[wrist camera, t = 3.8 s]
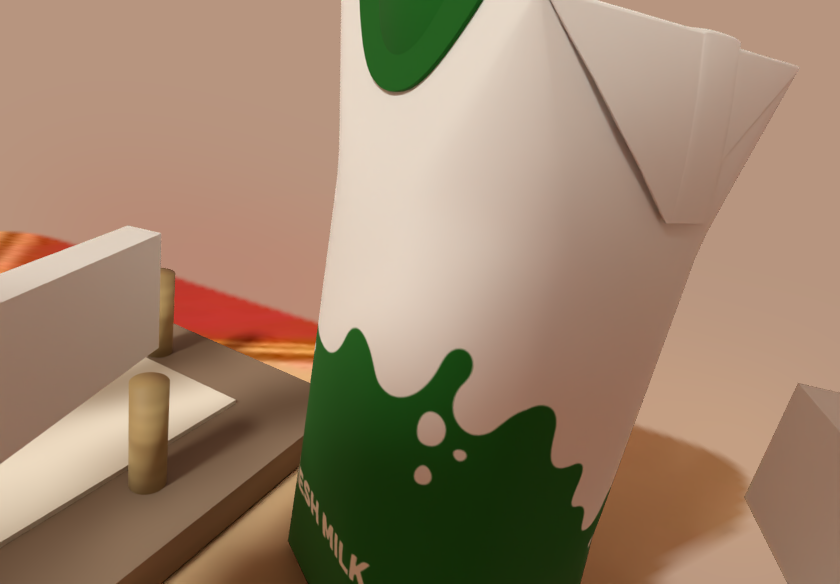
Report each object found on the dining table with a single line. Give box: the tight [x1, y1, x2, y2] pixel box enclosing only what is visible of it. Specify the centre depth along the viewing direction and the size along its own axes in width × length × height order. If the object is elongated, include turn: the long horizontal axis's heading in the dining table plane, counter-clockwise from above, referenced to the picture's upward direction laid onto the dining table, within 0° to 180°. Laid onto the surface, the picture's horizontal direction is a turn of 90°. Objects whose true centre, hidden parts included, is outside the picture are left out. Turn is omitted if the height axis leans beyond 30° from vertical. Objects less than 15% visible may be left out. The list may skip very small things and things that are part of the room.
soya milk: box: [288, 0, 800, 584], centre depth 17 cm, size 9×9×20 cm
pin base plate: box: [0, 268, 310, 584], centre depth 22 cm, size 18×18×6 cm
